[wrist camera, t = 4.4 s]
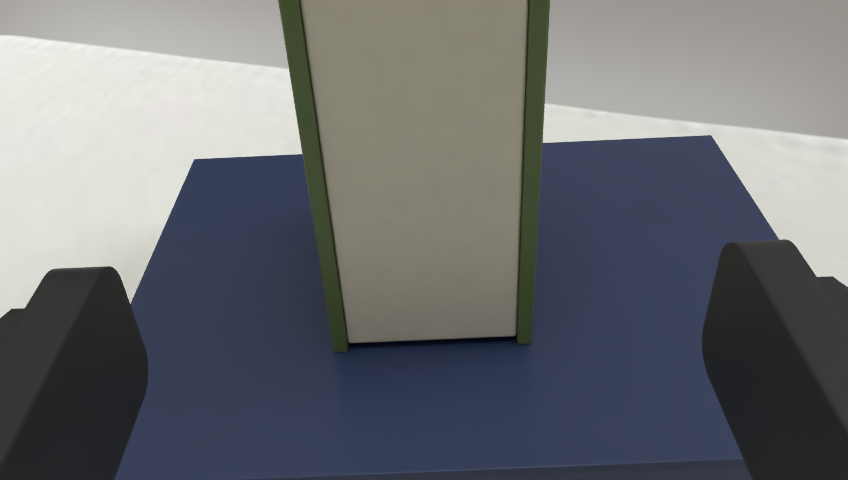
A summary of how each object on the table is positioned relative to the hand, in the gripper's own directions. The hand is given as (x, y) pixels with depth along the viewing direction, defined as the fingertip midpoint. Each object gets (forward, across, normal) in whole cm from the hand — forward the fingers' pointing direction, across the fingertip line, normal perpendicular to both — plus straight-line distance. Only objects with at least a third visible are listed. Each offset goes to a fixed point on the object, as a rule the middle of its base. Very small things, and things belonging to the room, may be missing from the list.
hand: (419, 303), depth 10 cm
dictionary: (+11, 0, +8) cm, 13 cm away
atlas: (+11, -1, +11) cm, 15 cm away
